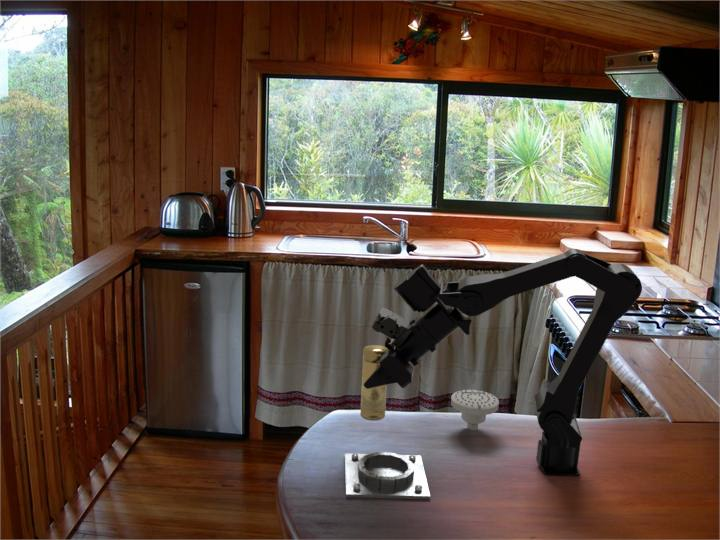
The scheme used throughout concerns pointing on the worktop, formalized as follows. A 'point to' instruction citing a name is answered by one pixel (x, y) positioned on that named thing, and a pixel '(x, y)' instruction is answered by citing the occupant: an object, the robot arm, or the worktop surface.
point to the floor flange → (385, 476)
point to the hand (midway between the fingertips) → (366, 381)
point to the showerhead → (474, 406)
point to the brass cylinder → (376, 396)
